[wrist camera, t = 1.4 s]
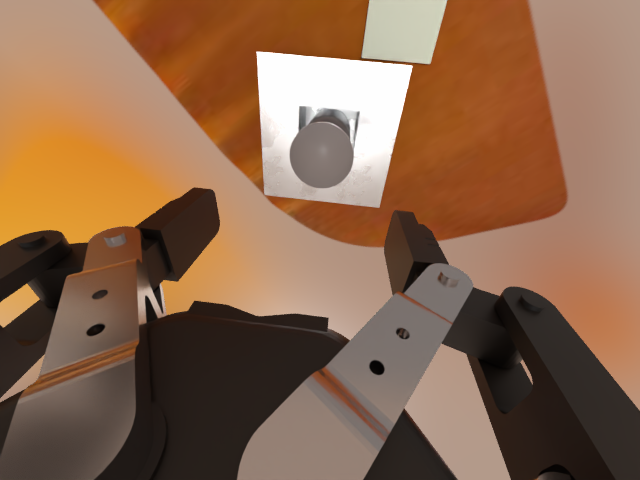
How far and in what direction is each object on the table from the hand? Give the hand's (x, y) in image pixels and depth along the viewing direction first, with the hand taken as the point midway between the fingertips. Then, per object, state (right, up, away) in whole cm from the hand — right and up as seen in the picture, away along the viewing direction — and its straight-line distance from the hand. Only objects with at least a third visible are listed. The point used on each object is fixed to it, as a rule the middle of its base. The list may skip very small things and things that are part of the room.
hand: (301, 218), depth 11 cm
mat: (+9, +21, +13) cm, 26 cm away
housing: (+2, +13, +19) cm, 23 cm away
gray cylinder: (+2, +12, +17) cm, 21 cm away
